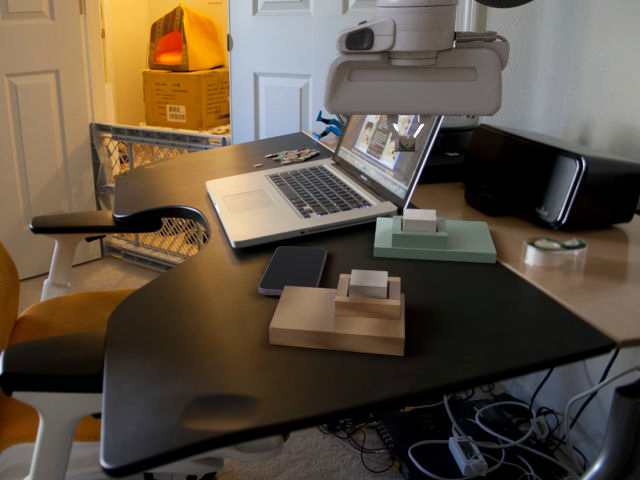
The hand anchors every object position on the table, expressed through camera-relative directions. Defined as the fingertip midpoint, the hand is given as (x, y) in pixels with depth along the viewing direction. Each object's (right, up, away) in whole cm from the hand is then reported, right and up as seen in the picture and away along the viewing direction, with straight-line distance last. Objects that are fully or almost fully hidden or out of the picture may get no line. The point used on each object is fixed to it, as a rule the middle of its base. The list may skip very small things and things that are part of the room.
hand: (406, 151), depth 78 cm
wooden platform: (-9, -21, -6) cm, 24 cm away
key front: (-6, -17, -7) cm, 19 cm away
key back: (+5, -9, +12) cm, 16 cm away
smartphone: (-13, -16, +7) cm, 21 cm away
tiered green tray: (+7, -11, +14) cm, 20 cm away
